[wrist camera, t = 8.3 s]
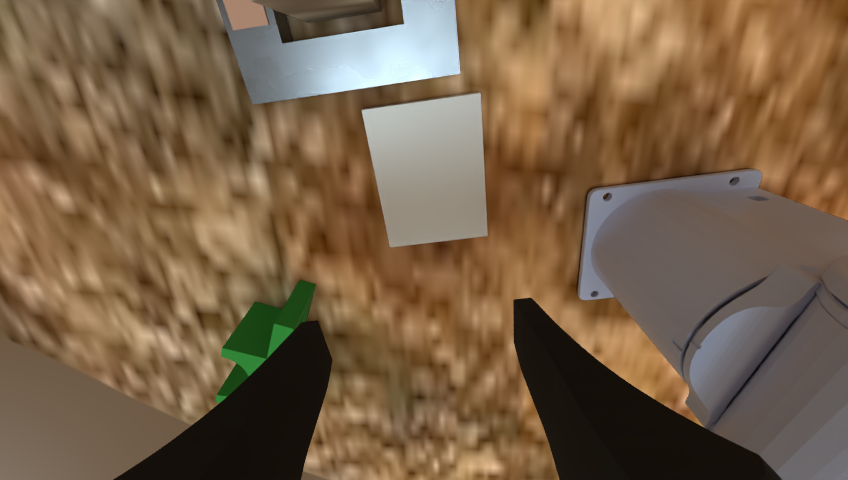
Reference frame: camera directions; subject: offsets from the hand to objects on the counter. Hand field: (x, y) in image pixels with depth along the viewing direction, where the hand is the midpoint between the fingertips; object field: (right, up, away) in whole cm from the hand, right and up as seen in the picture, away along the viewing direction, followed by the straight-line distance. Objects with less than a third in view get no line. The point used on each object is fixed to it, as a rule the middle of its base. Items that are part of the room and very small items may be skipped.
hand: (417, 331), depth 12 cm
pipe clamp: (-11, -4, +13) cm, 17 cm away
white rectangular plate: (+1, +7, +7) cm, 10 cm away
